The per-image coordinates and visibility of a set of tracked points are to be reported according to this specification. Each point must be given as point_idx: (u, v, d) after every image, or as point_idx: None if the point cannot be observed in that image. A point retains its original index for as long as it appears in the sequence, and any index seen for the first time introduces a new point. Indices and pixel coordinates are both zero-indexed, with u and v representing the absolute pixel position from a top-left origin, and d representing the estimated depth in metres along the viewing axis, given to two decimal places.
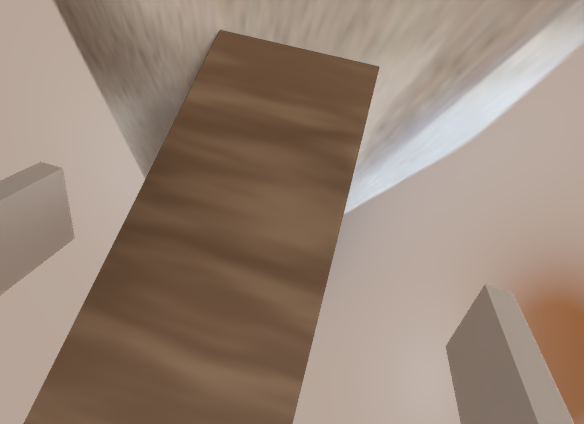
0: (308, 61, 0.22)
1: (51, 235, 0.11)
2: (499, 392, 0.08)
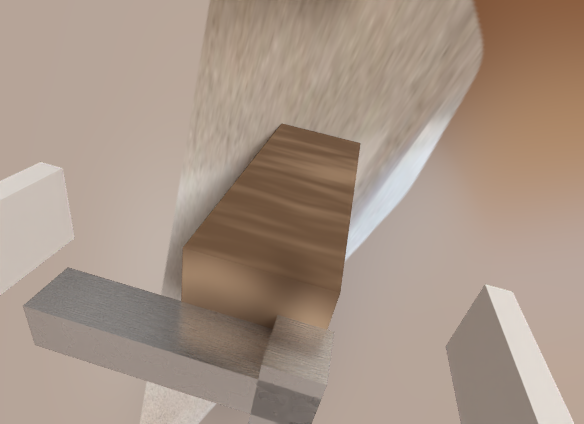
0: (326, 137, 0.46)
1: (51, 235, 0.11)
2: (499, 392, 0.08)
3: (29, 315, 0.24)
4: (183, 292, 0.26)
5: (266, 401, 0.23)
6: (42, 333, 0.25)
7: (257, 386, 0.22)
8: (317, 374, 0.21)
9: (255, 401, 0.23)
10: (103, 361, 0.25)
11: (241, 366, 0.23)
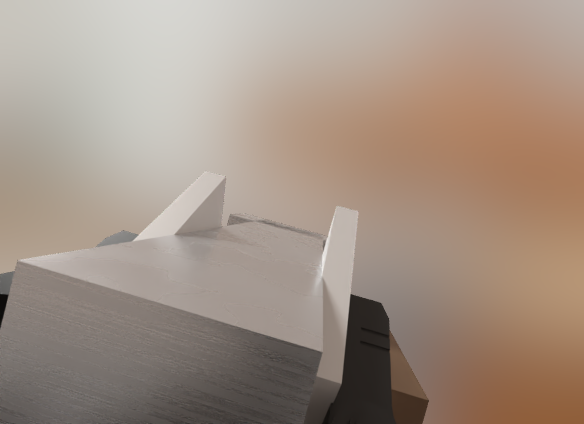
0: None
1: None
2: None
3: (90, 273, 0.05)
4: None
5: (290, 229, 0.21)
6: (213, 294, 0.05)
7: (267, 224, 0.21)
8: None
9: (295, 231, 0.20)
10: (298, 265, 0.10)
11: None
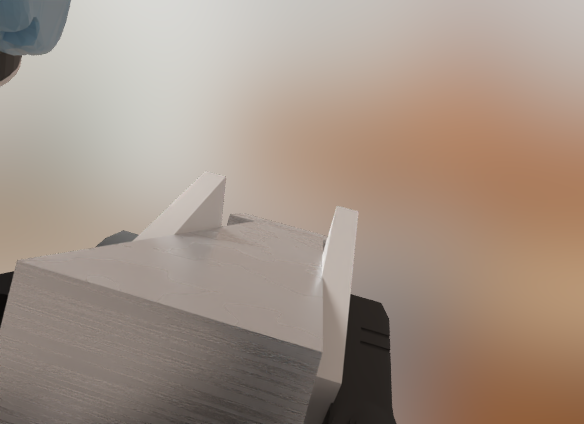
0: None
1: None
2: None
3: (90, 273, 0.05)
4: None
5: (290, 229, 0.21)
6: (213, 294, 0.05)
7: (267, 224, 0.21)
8: None
9: (295, 231, 0.20)
10: (298, 265, 0.10)
11: None
